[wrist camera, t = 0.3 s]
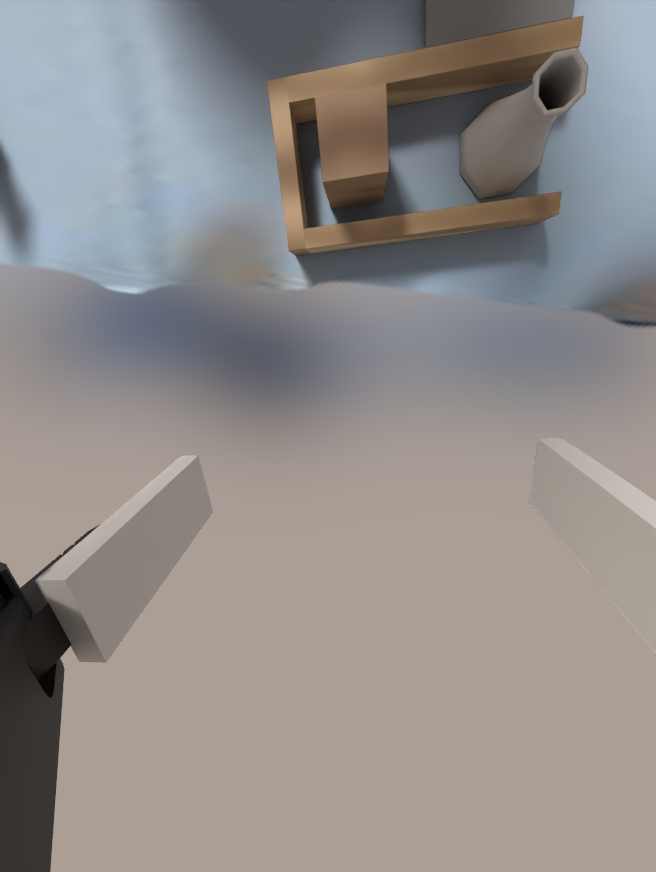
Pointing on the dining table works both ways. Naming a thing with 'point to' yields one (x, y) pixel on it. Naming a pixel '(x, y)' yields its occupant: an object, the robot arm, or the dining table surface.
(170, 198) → the dining table surface
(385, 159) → the walnut block
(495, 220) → the rack
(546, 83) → the flask
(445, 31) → the coaster
